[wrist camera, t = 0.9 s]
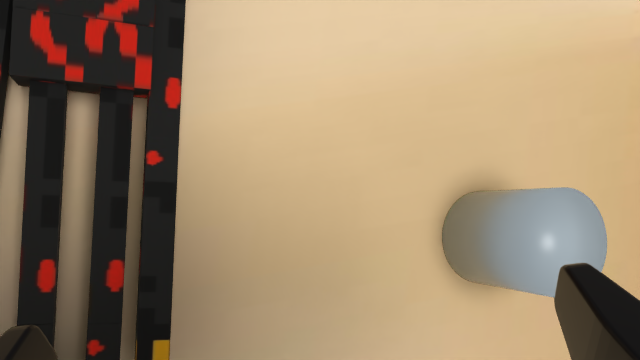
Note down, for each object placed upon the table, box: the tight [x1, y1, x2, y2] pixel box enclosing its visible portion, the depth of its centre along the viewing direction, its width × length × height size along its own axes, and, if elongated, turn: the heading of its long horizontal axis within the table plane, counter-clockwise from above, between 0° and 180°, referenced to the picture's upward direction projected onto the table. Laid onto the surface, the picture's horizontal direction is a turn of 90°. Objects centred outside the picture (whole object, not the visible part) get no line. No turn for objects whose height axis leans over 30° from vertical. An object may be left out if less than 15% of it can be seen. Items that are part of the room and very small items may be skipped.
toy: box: [0, 0, 186, 360], centre depth 22 cm, size 8×5×30 cm
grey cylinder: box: [442, 188, 607, 298], centre depth 28 cm, size 5×5×6 cm
